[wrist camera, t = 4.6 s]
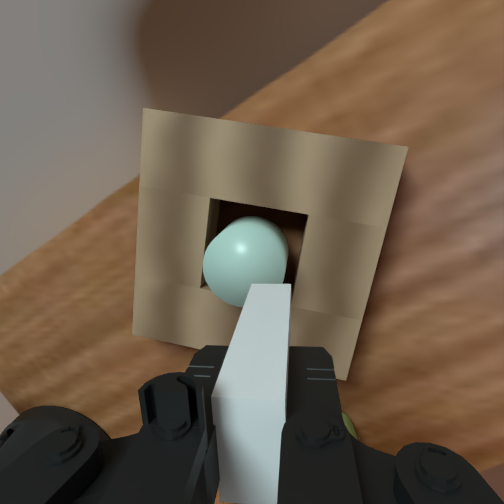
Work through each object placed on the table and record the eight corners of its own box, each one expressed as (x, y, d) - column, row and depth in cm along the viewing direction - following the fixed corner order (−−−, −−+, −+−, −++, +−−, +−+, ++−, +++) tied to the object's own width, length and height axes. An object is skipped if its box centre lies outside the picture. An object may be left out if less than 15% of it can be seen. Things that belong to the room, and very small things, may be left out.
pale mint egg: (215, 276, 31) (198, 298, 26) (223, 210, 29) (207, 221, 25) (281, 289, 31) (277, 314, 26) (294, 222, 29) (291, 236, 24)
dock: (150, 315, 37) (132, 334, 33) (163, 113, 31) (143, 108, 27) (341, 355, 35) (346, 380, 31) (395, 147, 29) (408, 146, 25)
